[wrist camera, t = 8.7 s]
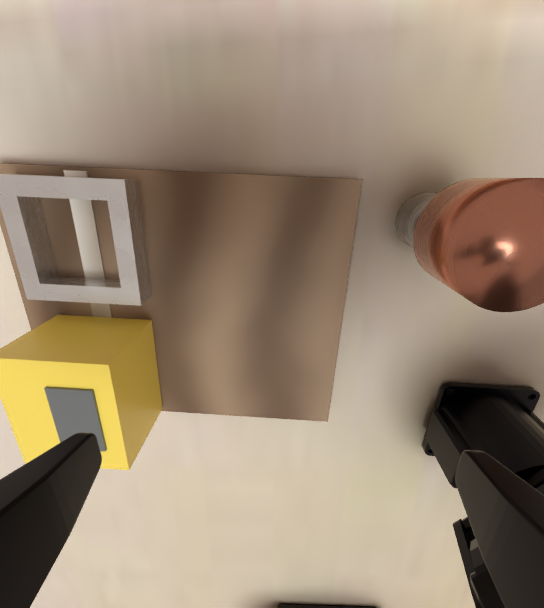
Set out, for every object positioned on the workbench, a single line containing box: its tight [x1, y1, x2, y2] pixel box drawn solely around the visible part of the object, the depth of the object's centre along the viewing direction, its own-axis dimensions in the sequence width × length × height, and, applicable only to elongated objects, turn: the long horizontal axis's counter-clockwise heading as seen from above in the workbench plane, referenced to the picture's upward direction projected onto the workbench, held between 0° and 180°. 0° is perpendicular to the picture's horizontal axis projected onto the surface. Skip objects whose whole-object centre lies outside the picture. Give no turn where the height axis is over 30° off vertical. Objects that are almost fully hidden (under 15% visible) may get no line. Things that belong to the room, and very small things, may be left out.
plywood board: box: [0, 163, 363, 422], centre depth 19 cm, size 20×16×1 cm
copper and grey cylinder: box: [396, 178, 544, 312], centre depth 14 cm, size 4×4×8 cm
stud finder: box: [0, 315, 162, 470], centre depth 18 cm, size 6×7×5 cm
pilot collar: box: [0, 174, 152, 306], centre depth 17 cm, size 7×7×2 cm
